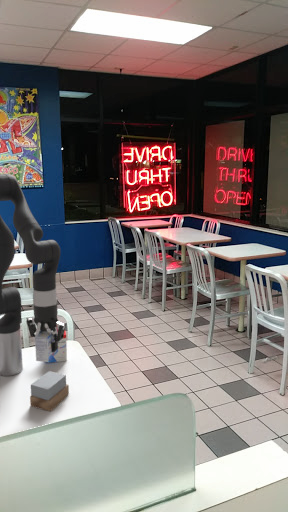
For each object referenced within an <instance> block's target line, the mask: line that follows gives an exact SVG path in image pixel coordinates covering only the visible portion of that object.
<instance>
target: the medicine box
mask: <svg viewBox="0 0 288 512" xmlns="http://www.w3.org/2000/svg"><path fill="white" fill-rule="evenodd" d="M51 342H52V341H51V336H49V335H48V332H45V331H42V332H41V333H39V334H38V335H37V336H36V337H34V343H35V344H34V345H35V346H34V348H35V361H37V362H43V363H46V362H49V361H50V360H51V359H52V358H53V357H54V355H55V354H56V353H57V352H58V349H57V350H56V351H55V352H52V351H51Z"/></svg>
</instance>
